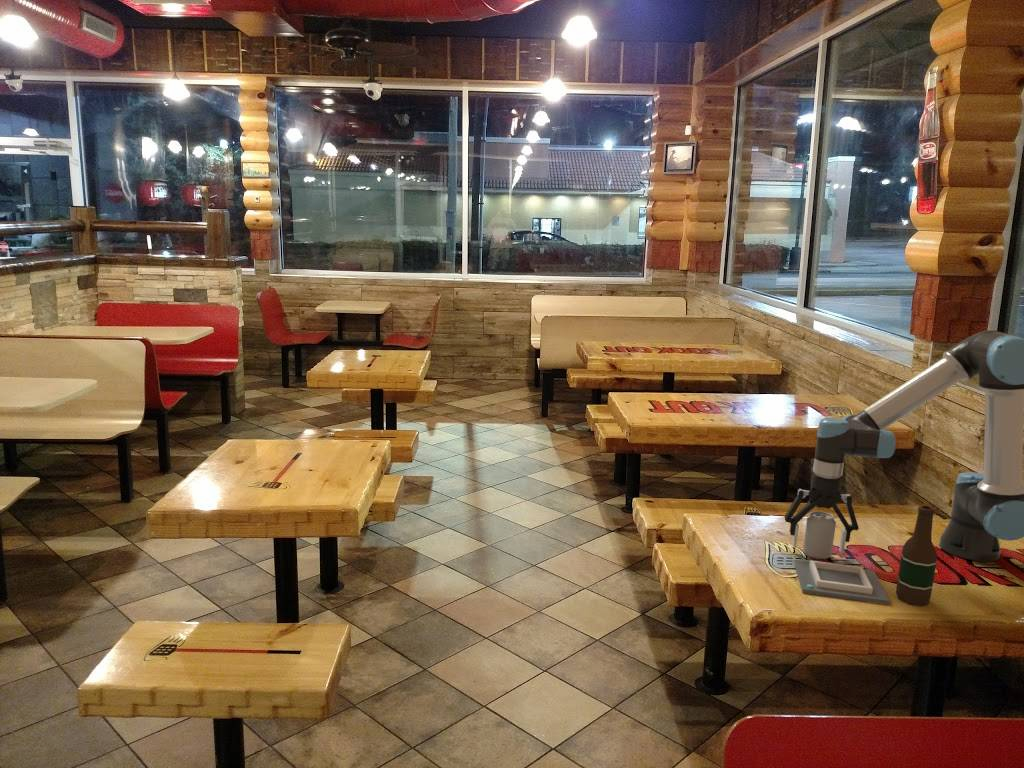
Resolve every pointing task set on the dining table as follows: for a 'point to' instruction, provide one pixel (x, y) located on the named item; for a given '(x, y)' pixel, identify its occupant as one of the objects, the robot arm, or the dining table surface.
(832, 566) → the dock
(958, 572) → the dining table surface
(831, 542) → the can
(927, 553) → the beer bottle
